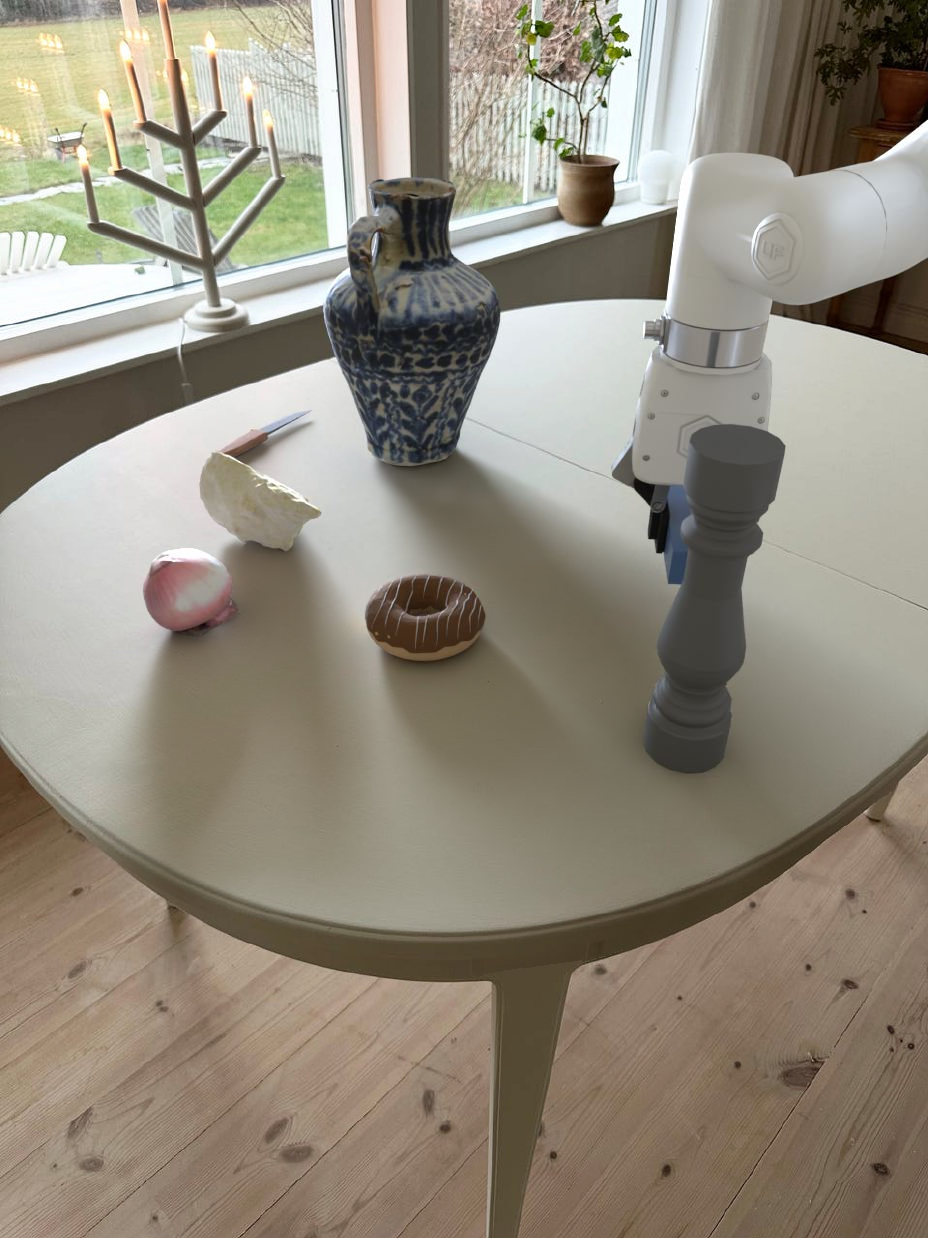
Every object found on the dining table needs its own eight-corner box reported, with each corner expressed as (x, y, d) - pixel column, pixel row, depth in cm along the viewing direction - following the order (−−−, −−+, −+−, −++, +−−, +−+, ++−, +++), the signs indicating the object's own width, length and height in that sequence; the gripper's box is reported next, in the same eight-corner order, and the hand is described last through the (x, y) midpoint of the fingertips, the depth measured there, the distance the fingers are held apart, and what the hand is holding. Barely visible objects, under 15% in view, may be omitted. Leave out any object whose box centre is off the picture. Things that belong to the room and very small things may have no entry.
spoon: (718, 587, 75) (725, 553, 73) (654, 583, 76) (658, 550, 74) (697, 488, 89) (702, 458, 87) (643, 486, 89) (647, 456, 87)
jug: (377, 409, 122) (360, 159, 104) (518, 428, 117) (525, 169, 99) (305, 478, 106) (271, 198, 89) (463, 504, 101) (461, 212, 83)
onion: (176, 592, 88) (160, 527, 84) (253, 600, 87) (241, 534, 82) (138, 643, 81) (119, 575, 77) (220, 651, 80) (206, 583, 76)
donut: (341, 636, 82) (337, 599, 80) (424, 586, 88) (423, 550, 86) (426, 688, 76) (425, 650, 74) (509, 631, 82) (510, 594, 80)
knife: (294, 401, 121) (312, 406, 120) (294, 409, 122) (312, 413, 121) (205, 450, 110) (224, 455, 109) (207, 458, 111) (226, 463, 109)
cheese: (212, 521, 103) (148, 496, 88) (243, 463, 102) (184, 428, 88) (328, 585, 100) (283, 571, 86) (360, 526, 100) (321, 501, 85)
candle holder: (664, 780, 67) (715, 472, 53) (629, 725, 72) (667, 429, 58) (740, 763, 69) (811, 458, 54) (701, 710, 74) (756, 417, 59)
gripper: (604, 352, 67) (585, 565, 78) (835, 360, 66) (783, 575, 76) (602, 318, 73) (585, 520, 84) (814, 324, 72) (769, 528, 82)
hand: (680, 544), depth 80 cm, fingers closed on spoon, 3 cm apart
